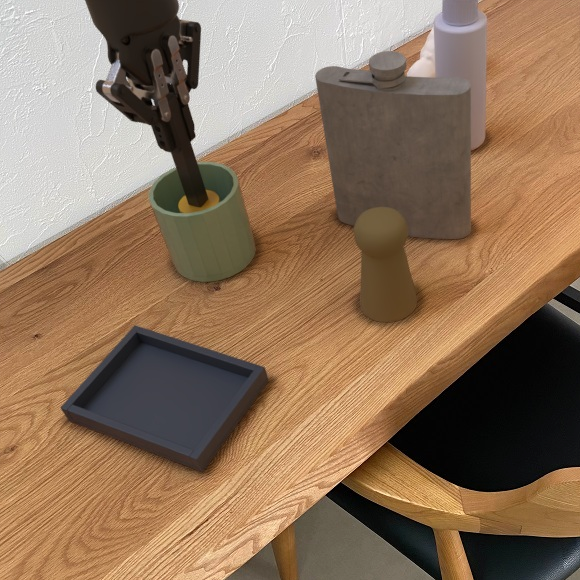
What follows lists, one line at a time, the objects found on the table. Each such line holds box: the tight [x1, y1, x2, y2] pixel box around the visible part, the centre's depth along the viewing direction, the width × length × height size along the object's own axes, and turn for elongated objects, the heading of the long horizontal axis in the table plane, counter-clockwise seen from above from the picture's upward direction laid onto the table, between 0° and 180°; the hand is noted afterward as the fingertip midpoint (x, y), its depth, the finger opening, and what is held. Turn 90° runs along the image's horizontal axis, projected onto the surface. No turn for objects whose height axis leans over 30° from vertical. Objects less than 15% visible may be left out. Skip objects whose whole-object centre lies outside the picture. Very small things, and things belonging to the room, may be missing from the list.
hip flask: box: [314, 50, 472, 240], centre depth 84 cm, size 16×4×20 cm, turn 73°
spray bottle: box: [433, 0, 488, 151], centre depth 93 cm, size 6×6×22 cm
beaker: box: [148, 161, 257, 283], centre depth 87 cm, size 9×9×9 cm
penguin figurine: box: [406, 25, 436, 78], centre depth 107 cm, size 6×8×12 cm
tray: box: [59, 325, 270, 473], centre depth 76 cm, size 16×12×2 cm
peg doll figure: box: [353, 207, 418, 323], centre depth 79 cm, size 6×6×11 cm
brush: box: [153, 94, 220, 213], centre depth 81 cm, size 4×4×14 cm
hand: (179, 144), depth 79 cm, fingers closed on brush
